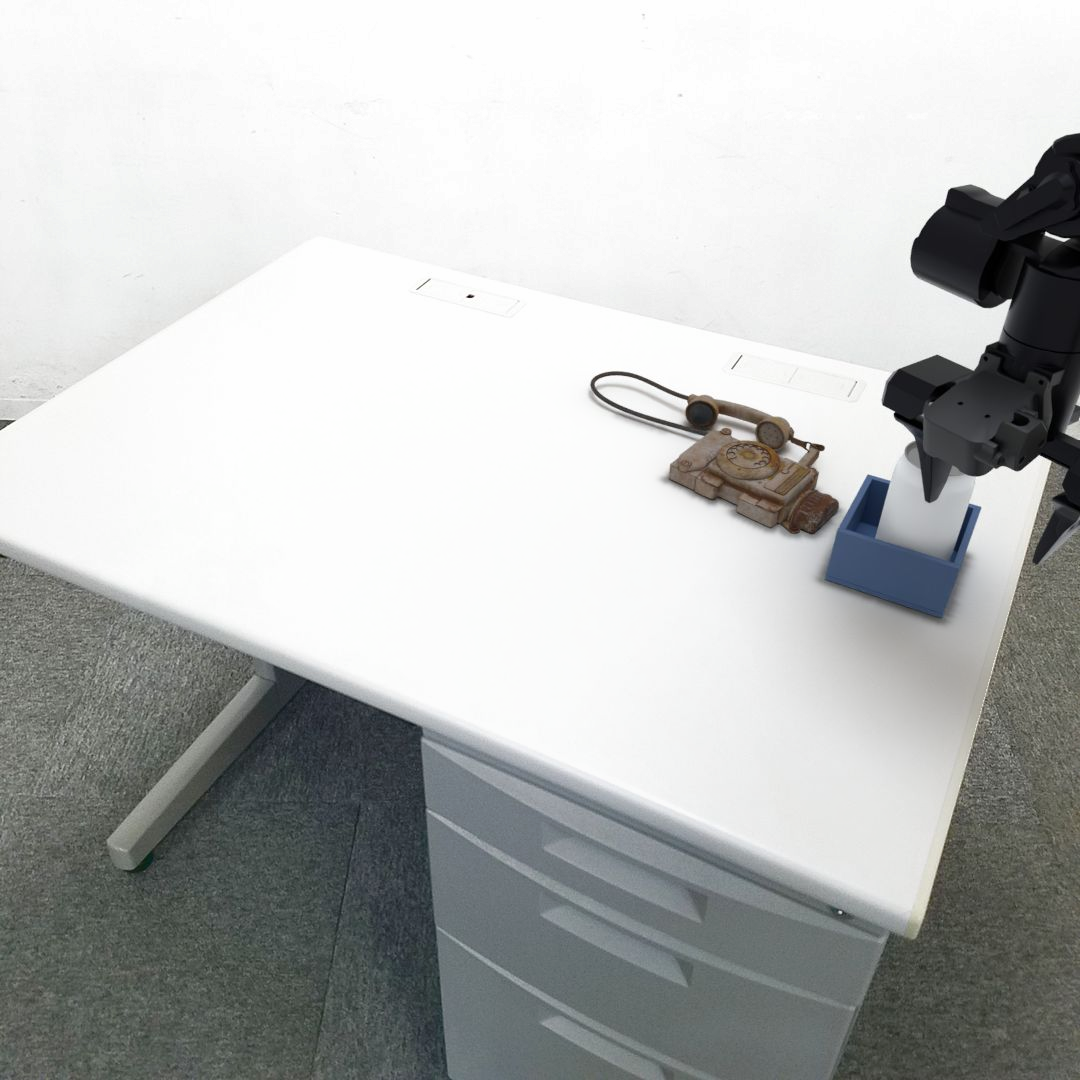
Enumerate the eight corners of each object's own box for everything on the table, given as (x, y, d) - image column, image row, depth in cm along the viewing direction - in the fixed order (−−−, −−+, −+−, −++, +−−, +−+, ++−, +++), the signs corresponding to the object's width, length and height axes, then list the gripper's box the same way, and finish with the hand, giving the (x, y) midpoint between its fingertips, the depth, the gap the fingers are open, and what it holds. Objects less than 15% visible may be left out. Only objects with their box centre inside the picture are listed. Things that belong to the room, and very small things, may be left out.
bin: (941, 618, 82) (959, 568, 79) (824, 579, 86) (837, 530, 83) (964, 554, 89) (981, 506, 86) (854, 521, 93) (867, 473, 90)
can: (862, 579, 85) (892, 465, 78) (876, 540, 90) (906, 429, 83) (938, 600, 83) (977, 485, 76) (948, 559, 88) (985, 446, 80)
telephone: (619, 371, 116) (621, 339, 113) (875, 475, 99) (884, 441, 96) (537, 424, 107) (537, 391, 105) (802, 548, 90) (810, 512, 88)
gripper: (852, 312, 64) (811, 504, 74) (1119, 430, 52) (1029, 643, 61) (958, 278, 69) (907, 462, 79) (1224, 378, 57) (1126, 582, 66)
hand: (982, 530), depth 71 cm, fingers open, 9 cm apart
